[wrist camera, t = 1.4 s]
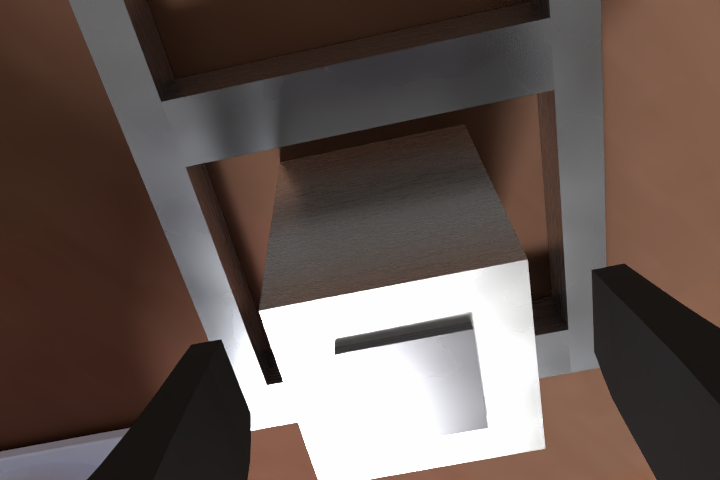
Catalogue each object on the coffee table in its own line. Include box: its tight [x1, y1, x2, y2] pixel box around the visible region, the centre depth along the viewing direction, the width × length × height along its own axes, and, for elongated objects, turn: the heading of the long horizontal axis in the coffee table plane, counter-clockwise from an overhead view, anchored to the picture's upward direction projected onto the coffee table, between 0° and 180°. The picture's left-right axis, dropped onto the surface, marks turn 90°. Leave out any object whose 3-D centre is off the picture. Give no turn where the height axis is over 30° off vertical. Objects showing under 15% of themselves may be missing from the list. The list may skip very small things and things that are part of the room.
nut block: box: [259, 124, 545, 480], centre depth 15 cm, size 4×4×6 cm
